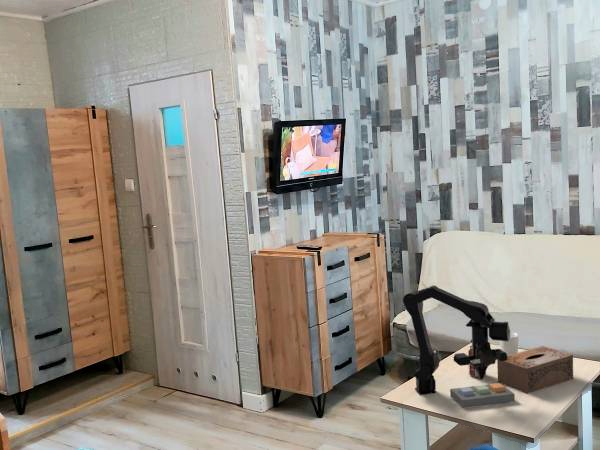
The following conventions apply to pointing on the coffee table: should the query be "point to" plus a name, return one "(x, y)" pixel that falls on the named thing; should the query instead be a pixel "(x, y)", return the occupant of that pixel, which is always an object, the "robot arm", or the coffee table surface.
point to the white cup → (510, 344)
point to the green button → (481, 389)
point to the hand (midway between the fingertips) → (481, 379)
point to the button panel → (482, 397)
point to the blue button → (466, 391)
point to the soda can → (471, 367)
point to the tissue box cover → (535, 369)
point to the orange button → (496, 387)
